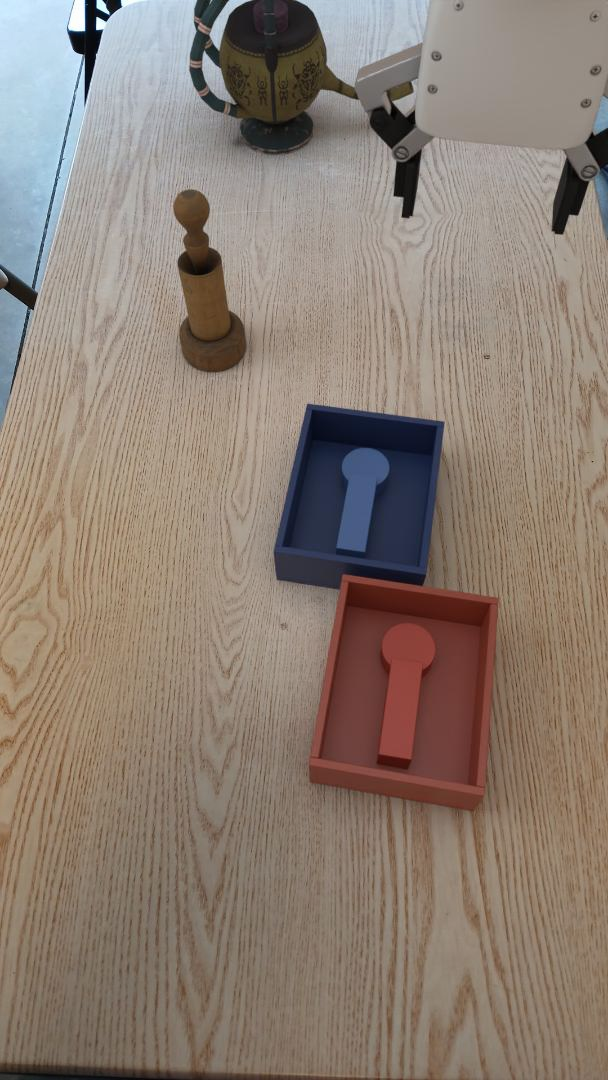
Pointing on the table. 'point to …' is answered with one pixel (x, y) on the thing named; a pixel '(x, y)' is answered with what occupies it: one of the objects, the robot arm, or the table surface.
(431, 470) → the blue bin
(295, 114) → the teapot
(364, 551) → the blue spoon
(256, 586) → the table surface
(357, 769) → the red bin
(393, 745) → the red spoon
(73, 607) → the table surface
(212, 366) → the mortar and pestle
